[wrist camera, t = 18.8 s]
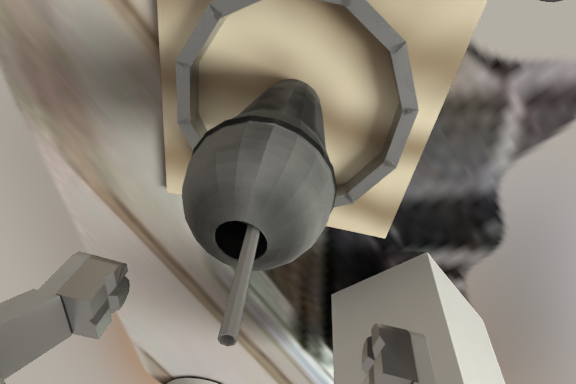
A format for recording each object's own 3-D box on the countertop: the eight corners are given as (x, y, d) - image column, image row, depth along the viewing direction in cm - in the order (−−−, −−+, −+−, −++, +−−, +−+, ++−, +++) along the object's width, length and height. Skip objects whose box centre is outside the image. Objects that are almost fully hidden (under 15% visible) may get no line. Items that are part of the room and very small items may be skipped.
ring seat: (384, 232, 32) (387, 251, 30) (170, 187, 33) (158, 202, 30) (494, -28, 20) (512, -28, 18) (158, -91, 21) (136, -99, 19)
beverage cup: (226, 101, 26) (22, 323, 10) (297, 35, 23) (175, 198, 6) (287, 167, 29) (209, 435, 12) (359, 116, 25) (388, 387, 9)
